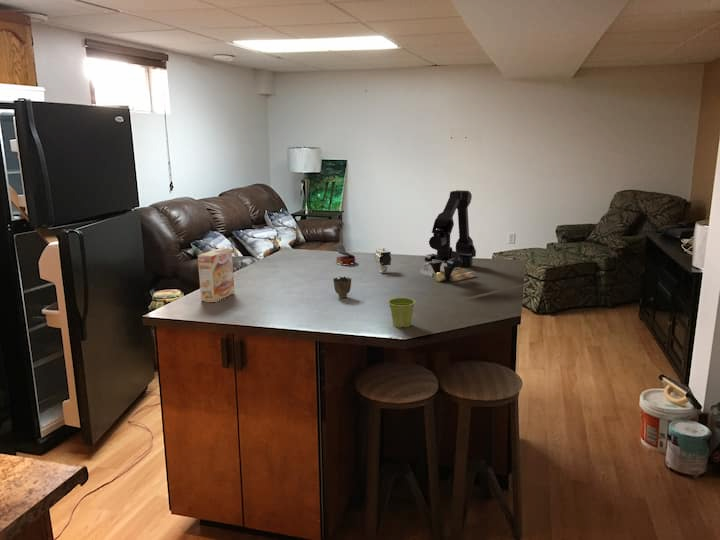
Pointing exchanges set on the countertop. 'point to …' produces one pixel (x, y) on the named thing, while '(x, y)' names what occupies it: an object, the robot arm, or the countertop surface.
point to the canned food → (345, 257)
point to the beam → (462, 276)
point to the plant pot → (401, 311)
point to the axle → (441, 276)
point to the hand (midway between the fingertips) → (442, 279)
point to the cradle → (430, 269)
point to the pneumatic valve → (383, 259)
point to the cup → (342, 286)
